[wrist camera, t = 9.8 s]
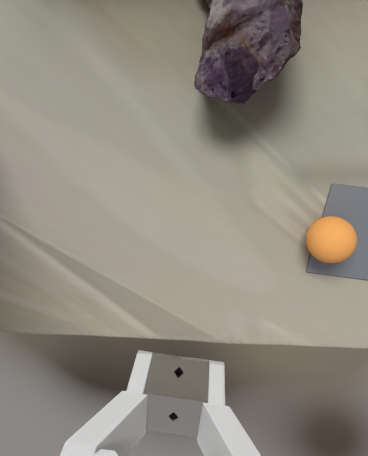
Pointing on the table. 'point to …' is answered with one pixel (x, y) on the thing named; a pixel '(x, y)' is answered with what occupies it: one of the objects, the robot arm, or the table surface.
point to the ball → (331, 239)
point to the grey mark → (361, 222)
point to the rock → (246, 45)
